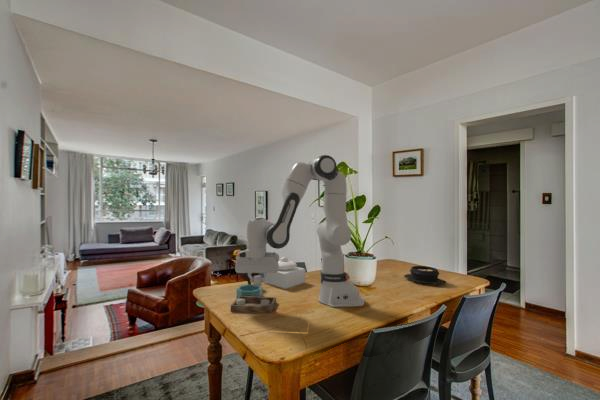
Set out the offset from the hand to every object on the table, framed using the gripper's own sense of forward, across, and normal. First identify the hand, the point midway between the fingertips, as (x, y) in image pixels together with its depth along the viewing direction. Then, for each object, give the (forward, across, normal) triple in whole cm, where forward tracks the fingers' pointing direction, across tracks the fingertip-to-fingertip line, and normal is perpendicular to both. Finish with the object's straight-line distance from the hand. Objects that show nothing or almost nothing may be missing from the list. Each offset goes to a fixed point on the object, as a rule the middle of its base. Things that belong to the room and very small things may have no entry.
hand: (257, 282), depth 134 cm
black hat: (+15, -93, -52) cm, 107 cm away
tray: (+11, +1, +3) cm, 11 cm away
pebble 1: (+10, +7, +6) cm, 14 cm away
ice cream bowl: (+11, +11, -26) cm, 31 cm away
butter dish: (+12, -7, -39) cm, 42 cm away
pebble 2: (+2, 0, 0) cm, 2 cm away
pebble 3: (+11, -4, +6) cm, 13 cm away
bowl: (+11, +7, -11) cm, 17 cm away
